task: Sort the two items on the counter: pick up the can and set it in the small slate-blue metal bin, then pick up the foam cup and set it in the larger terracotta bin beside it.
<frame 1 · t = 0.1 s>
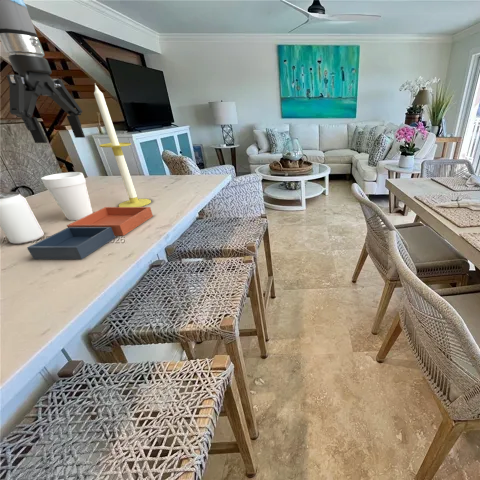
hand: (62, 140, 81), 22 cm above the counter, tool pointing down, fingers open, 13 cm apart
can: (28, 239, 70), on the counter
can bin: (77, 247, 66), on the counter
candle: (135, 204, 95), on the counter
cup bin: (115, 225, 78), on the counter
foam cup: (80, 216, 84), on the counter
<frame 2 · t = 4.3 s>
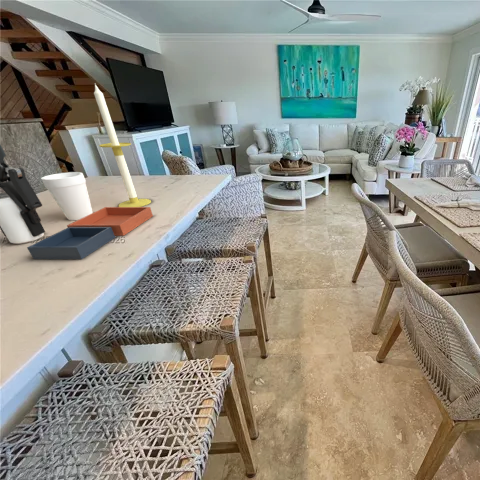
hand: (25, 234, 69), 1 cm above the counter, tool pointing down, fingers closed on can, 6 cm apart
can: (28, 239, 70), on the counter, touching gripper
everything else where it was.
when the fingers open (3 cm above the counter, at t = 24.0 s): can stays where it is, resting on can bin.
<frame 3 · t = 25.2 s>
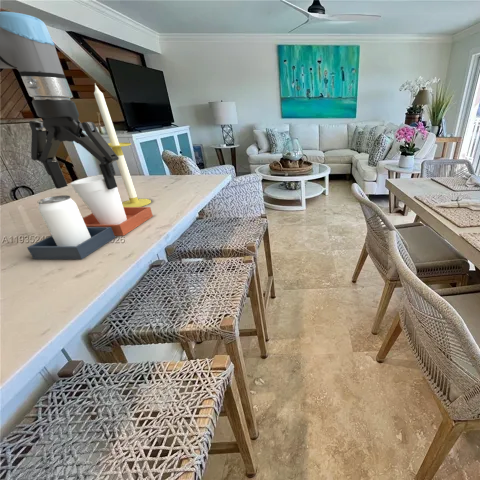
hand: (87, 187, 72), 12 cm above the counter, tool pointing down, fingers open, 13 cm apart
can: (76, 246, 66), resting on can bin
foam cup: (114, 222, 78), point 1 cm above the counter, touching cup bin
everything else where it was.
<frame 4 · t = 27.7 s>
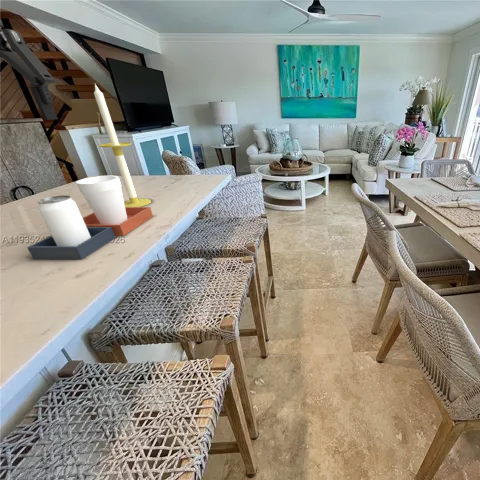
hand: (21, 119, 61), 29 cm above the counter, tool pointing down, fingers open, 13 cm apart
at the end: can inside the target area in the can bin (0.0 cm from its centre), point 0.4 cm above the can bin's base; foam cup inside the target area in the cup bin (0.0 cm from its centre), point 0.4 cm above the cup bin's base; foam cup tilted 0° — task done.
